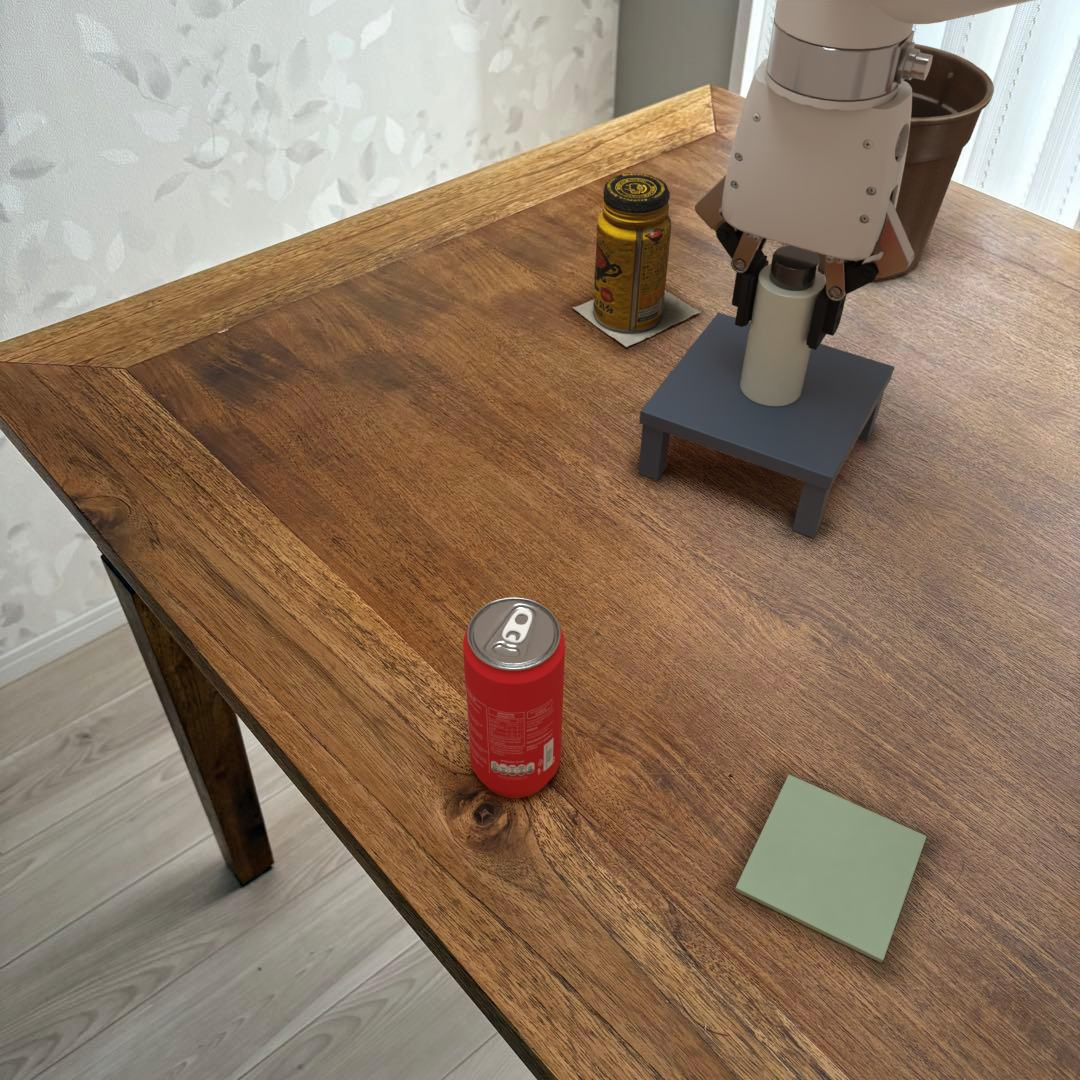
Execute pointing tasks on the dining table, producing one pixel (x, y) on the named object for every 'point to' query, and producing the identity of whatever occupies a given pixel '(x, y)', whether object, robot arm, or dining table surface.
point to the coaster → (833, 867)
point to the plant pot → (935, 141)
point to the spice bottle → (781, 327)
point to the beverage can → (514, 695)
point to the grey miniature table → (766, 414)
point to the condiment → (633, 262)
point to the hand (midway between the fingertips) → (782, 325)
